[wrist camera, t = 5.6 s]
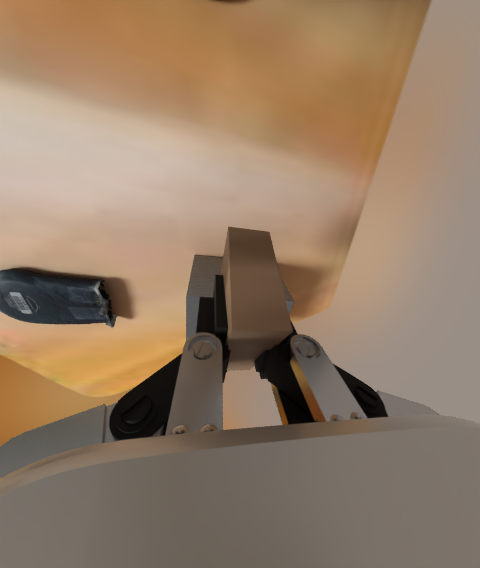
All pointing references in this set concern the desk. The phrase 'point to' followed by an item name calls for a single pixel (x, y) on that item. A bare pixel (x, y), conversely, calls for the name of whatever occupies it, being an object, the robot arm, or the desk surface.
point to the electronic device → (53, 299)
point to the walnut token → (252, 297)
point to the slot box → (208, 288)
